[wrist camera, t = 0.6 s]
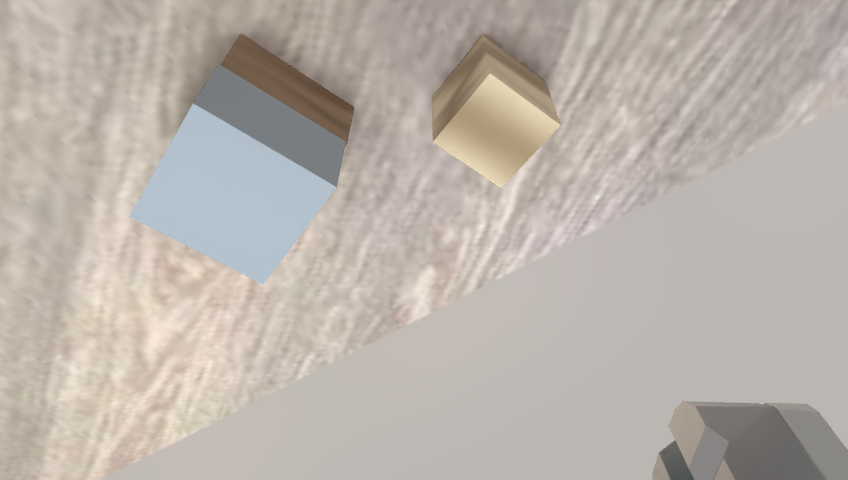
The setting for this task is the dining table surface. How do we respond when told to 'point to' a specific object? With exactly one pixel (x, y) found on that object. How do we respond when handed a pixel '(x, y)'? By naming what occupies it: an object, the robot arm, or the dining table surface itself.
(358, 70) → the dining table surface
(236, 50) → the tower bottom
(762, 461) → the robot arm
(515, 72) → the maple block
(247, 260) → the tower top
